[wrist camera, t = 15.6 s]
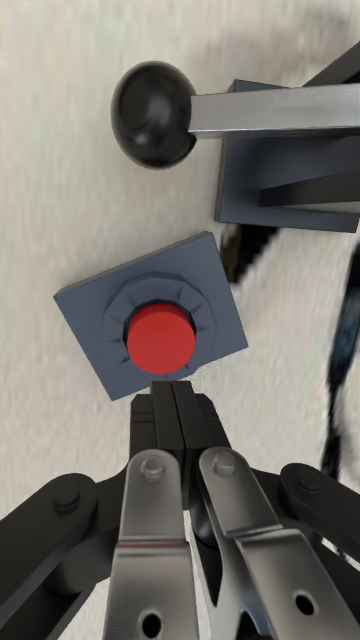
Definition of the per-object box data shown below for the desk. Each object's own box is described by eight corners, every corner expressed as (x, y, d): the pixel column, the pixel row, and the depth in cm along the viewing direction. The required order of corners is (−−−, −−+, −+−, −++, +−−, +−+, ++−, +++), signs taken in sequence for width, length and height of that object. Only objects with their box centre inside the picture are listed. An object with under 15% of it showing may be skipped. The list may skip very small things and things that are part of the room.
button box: (114, 388, 22) (109, 419, 18) (59, 289, 19) (42, 305, 15) (240, 337, 21) (259, 359, 18) (206, 230, 19) (220, 234, 15)
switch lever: (138, 175, 14) (91, 160, 11) (141, 88, 13) (89, 45, 10) (499, 185, 9) (589, 165, 6) (552, 52, 8) (691, -50, 5)
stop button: (143, 368, 18) (143, 384, 16) (118, 316, 17) (115, 328, 15) (198, 346, 18) (204, 359, 16) (177, 292, 17) (181, 301, 15)
